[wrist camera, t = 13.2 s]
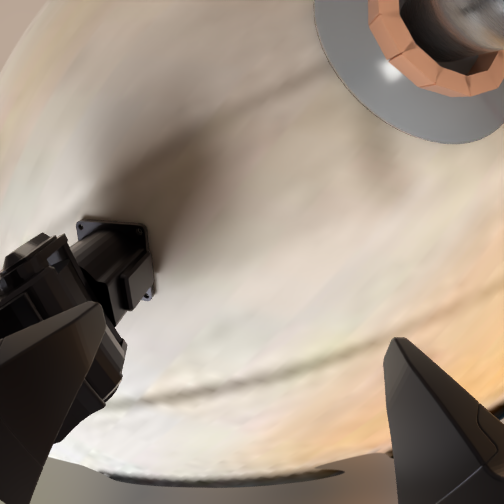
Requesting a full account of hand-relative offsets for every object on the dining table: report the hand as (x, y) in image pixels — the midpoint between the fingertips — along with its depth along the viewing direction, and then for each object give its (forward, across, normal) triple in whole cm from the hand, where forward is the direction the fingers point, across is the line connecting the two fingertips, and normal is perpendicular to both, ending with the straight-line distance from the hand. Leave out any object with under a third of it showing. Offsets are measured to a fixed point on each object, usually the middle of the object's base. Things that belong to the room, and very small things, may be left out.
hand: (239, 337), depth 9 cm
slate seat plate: (+13, -10, -14) cm, 22 cm away
